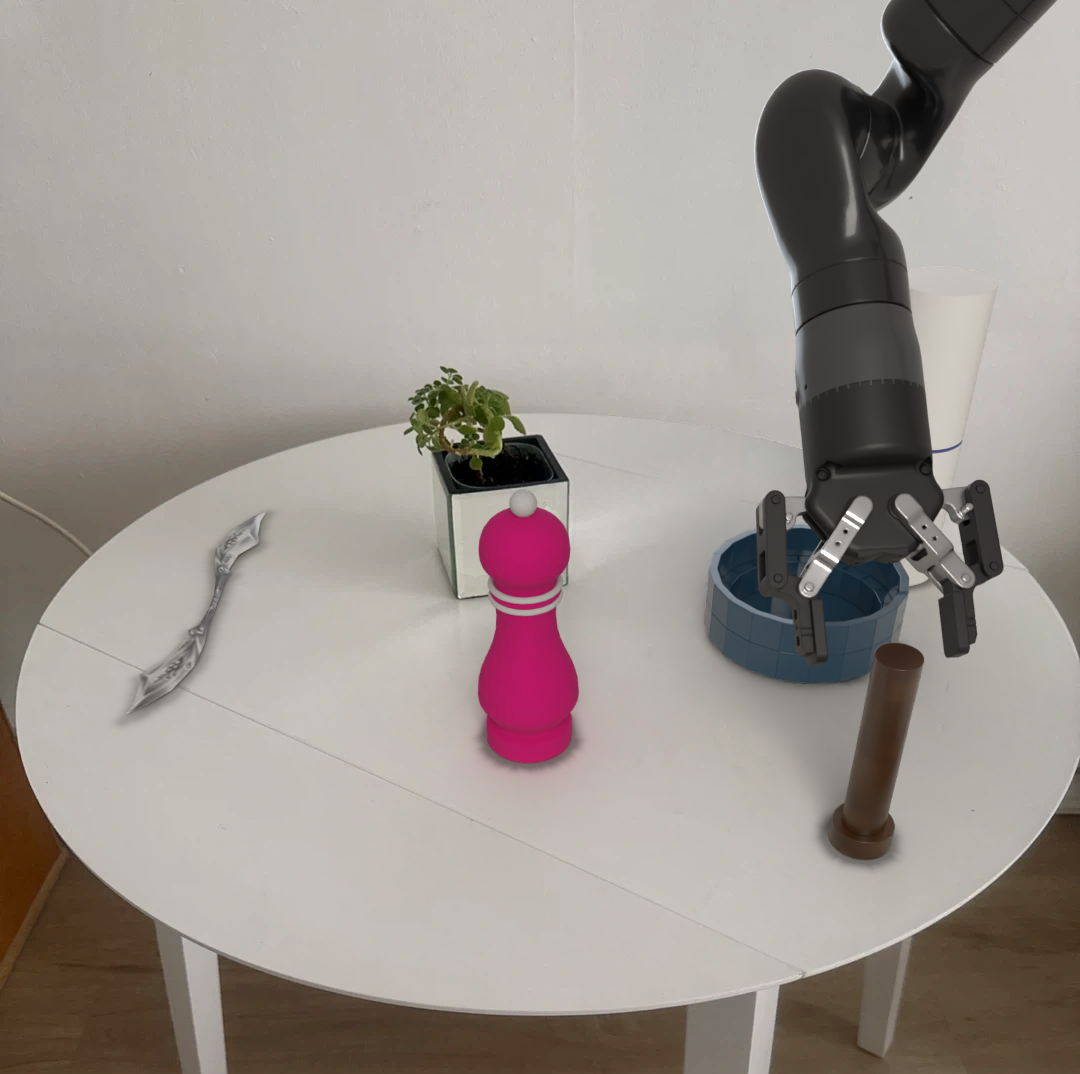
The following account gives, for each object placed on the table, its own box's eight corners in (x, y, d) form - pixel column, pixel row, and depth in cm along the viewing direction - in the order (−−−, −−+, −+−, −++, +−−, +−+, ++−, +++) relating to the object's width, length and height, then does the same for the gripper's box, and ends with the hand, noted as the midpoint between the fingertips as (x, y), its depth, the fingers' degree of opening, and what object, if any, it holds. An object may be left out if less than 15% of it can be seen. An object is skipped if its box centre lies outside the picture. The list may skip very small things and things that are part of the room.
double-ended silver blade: (120, 717, 88) (185, 718, 87) (118, 711, 87) (183, 711, 87) (223, 513, 113) (273, 513, 112) (222, 507, 112) (272, 507, 112)
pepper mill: (530, 694, 89) (524, 454, 77) (598, 736, 85) (604, 490, 73) (460, 737, 85) (441, 491, 73) (528, 782, 81) (521, 531, 69)
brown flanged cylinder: (891, 823, 78) (935, 641, 68) (889, 865, 75) (935, 680, 65) (830, 813, 78) (865, 632, 69) (826, 854, 75) (862, 671, 66)
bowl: (897, 597, 99) (910, 536, 95) (892, 704, 88) (907, 639, 84) (718, 575, 102) (724, 515, 99) (690, 675, 91) (696, 611, 87)
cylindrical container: (852, 583, 101) (903, 294, 85) (848, 542, 107) (896, 263, 91) (936, 589, 100) (1004, 298, 84) (928, 548, 106) (991, 267, 90)
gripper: (760, 379, 67) (787, 657, 65) (1001, 368, 68) (1033, 641, 66) (732, 427, 74) (756, 677, 72) (949, 416, 75) (977, 663, 73)
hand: (888, 659), depth 69 cm, fingers open, 8 cm apart
